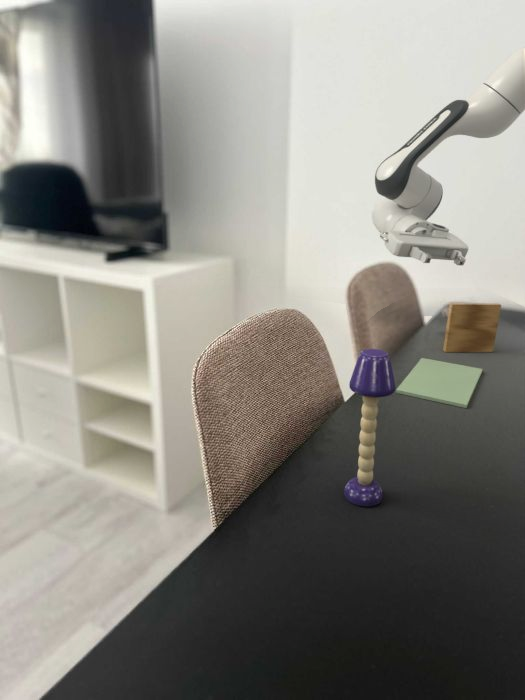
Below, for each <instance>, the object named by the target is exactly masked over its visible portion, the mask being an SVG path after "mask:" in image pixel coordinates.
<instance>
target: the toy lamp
mask: <svg viewBox="0 0 525 700" xmlns="http://www.w3.org/2000/svg"><path fill="white" fill-rule="evenodd" d="M395 382H396V381H395V376H394V370H393V366H392V360H391V356H390V354H389V353H388V351H385V350H383V349H378V348H365V349H363V350H361V351H360V353H359V354H358V357H357V359H356V362H355V365H354V368H353V371H352V374H351V377H350V380H349V386H348V387H349V389H350V390H351V391H352V392H353V393H354V394H357V395H360V396H361V397H362V406H361V408H360V409H361V418H360V423H359V424H360V432H359V435H358V436H359V441H360V443H359V445H358V455H359V456H358V460H357V466H358V469H357V475H356V477H353V478H351V479H349V481H347V483H346V485H345V487H344V489H343V495H344V498H345V499H346V500H347V501H348V502H349V503H351V504H353V505H355V506H358V507H366V508H368V507H374V506H377V505H379V504H380V503H381V502H382V501H383V497H384V494H383V489H382V487H381V485H380V484H379V483H378V482H377V481H376V480H375V479H374V470H373V469H374V466H375V459H374V456H375V452H376V446H375V443H376V438H377V434H376V430H377V426H378V420H377V416H378V413H379V408H378V407H379V406H378V403H379V401H380V398H385V397H389V396H391V395H393V394H394V393H395V392H396V383H395Z"/></svg>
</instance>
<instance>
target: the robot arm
mask: <svg viewBox="0 0 525 700" xmlns="http://www.w3.org/2000/svg"><path fill="white" fill-rule="evenodd" d="M524 111H525V46H522V47H519V48H518V49H516V50H515V51H514V52H513V53H511V54H510V55H509V56H508V57H507V58H505V60H504V61H502V62H501V63H500V64H499V65H498V66H497V67H495V69H494V70H493V71H492V73H490V75H489V76H488V77H487V78H486V79H485V80H484V81H483V82H482V84H481V85H480V86H479V87H478V88H477V89H476V90H475V91H473V93H471V94H469V95H468V96H467V97H465V98H463V99H456V100H455V99H454V100H453V101H451V102H450V103H448V104H447V105H445V106H444V107H443V108H442V109H441V110H440V111H438V112H437V113H436V114H435V115H434V116H433V117H432V118H431V119H430V120H429V121H427V123H426V124H424V125H423V126H422V127H421V129H419V130H418V131H417V132H416V133H415V134H414V135H413V136H412V137H411V138H410V139H408V140H407V141H406V143H404V144H403V145H402V146H401V147H400V148H399V149H398V150H397V151H395V152H394V153H392V154H390V155H389V156H388V157H386V158H385V159H383V161H382V162H381V163H380V164H379V165H378V167H377V168H376V170H375V173H374V185H375V186H374V187H375V190H376V193H377V194H378V195H380V196H382V197H384V199H380V200H379V201H378V202H377V203H376V204H375V205H374V207H373V209H372V212H371V219H372V224H373V226H374V227H375V229H376V230H377V231H378V232H379V238H380V239H381V240H382V241H384V246H385V248H386V249H387V251H388V252H389V253H390V254H392V255H393V256H396V257H399V258H412V259H415V260H418V261H420V262H421V263H423V264H430V263H431V260H443V261H453V264H455V265H456V266H464V265H465V264H466V261H467V259H466V257H467V254H468V253H469V245H468V244H467V243H466V242H464V241H463V240H462V239H461V238H459V237H458V236H457V235H455V234H453V233H451V232H450V229H449V228H448V227H446V226H444V225H440V224H436V223H434V222H430V221H428V220H429V219H430V218H431V217H432V216H433V215H434V214H435V212H436V211H437V209H438V208H439V206H440V205H441V202H442V199H443V194H444V191H443V185H442V184H441V183H440V182H439V181H438V180H437V179H436V178H434V177H433V176H432V175H430V174H429V173H427V172H426V171H425V170H424V169H422V168H421V167H419V166H418V165H419V164H420V163H421V161H423V160H424V159H425V158H426V157H427V156H428V155H429V154H430V153H432V151H434V150H435V148H438V146H439V145H440V144H441V143H443V141H445V140H447V139H448V138H451V137H453V136H466V137H467V136H468V137H471V138H477V139H489V138H494V137H497V136H499V135H501V134H503V133H504V132H505V131H506V130H508V129H509V128H510V127H511V126H512V125H513V124H514V123H515V121H517V120H518V118H519V117H520V116H521V115H522V113H524Z"/></svg>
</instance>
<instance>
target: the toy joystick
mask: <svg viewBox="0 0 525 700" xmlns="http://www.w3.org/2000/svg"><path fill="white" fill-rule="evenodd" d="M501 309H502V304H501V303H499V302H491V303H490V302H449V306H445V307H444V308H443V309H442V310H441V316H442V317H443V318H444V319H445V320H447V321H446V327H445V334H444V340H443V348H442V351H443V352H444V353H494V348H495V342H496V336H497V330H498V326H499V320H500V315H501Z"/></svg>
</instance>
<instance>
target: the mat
mask: <svg viewBox="0 0 525 700" xmlns="http://www.w3.org/2000/svg"><path fill="white" fill-rule="evenodd" d="M483 370H484V369H483V368H479V367H473V366H468V365H462V364H457V363H453V362H446V361H440V360H435V359H430V358H424V357H421V358H420V359H419V361H417V363H416V364H415V366H414V367H413V368H412V369H411V371H410V372H409V373H408V375H406V377H405V378H404V379H403V381H402V382H401V383H400V384H399V385H398V386H397V388H395V394H401V395H404V396H409V397H414V398H417V399H422V400H427V401H432V402H435V403H441V404H445V405H450V406H454V407H459V408H463V409H467V408H468V406H469V403H470V402H471V400H472V397H473V395H474V393H475V390H476V388H477V385H478V382H479V380H480V379H481V377H482V373H483Z"/></svg>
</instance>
